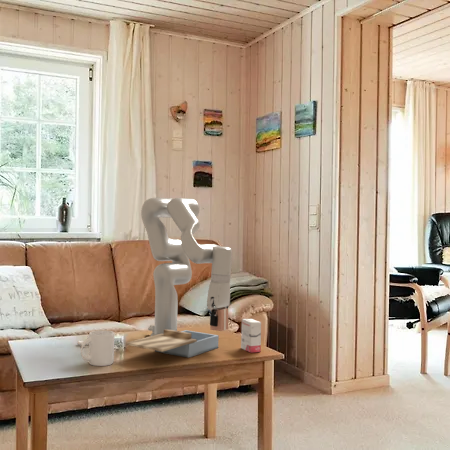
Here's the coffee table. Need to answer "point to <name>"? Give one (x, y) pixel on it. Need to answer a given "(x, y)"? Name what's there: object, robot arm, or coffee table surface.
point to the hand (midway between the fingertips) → (217, 324)
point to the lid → (164, 341)
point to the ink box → (251, 335)
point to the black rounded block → (82, 342)
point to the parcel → (221, 320)
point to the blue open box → (195, 345)
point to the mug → (100, 348)
